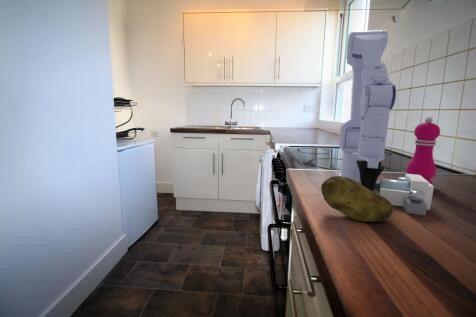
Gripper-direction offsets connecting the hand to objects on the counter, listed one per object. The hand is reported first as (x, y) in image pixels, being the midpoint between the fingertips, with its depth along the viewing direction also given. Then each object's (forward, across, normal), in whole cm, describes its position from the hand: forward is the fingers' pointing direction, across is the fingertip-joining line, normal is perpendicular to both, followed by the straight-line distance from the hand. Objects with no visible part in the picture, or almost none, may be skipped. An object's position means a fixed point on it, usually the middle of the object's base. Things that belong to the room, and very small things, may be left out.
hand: (366, 190), depth 64 cm
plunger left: (+1, -6, +9) cm, 11 cm away
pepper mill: (+2, -19, +16) cm, 25 cm away
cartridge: (+1, 0, +5) cm, 5 cm away
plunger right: (+1, +6, +9) cm, 11 cm away
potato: (+2, +15, -3) cm, 15 cm away
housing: (+2, 0, +7) cm, 7 cm away
